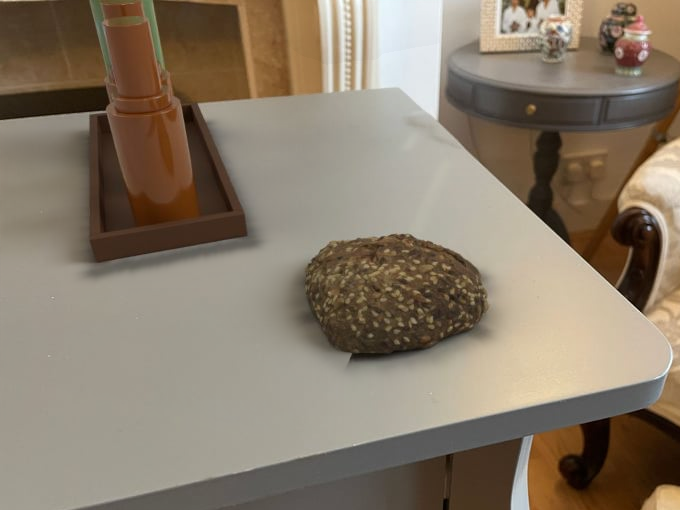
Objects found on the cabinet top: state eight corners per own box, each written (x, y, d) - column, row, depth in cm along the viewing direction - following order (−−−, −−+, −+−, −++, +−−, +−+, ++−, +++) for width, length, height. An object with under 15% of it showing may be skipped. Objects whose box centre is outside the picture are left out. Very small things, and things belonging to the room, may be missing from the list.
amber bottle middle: (118, 193, 60) (70, 5, 51) (150, 169, 64) (111, -7, 55) (171, 199, 58) (132, 8, 50) (200, 174, 63) (168, -5, 54)
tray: (248, 241, 53) (244, 213, 52) (98, 269, 50) (89, 239, 48) (200, 123, 76) (196, 101, 75) (95, 137, 73) (89, 114, 71)
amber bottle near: (122, 233, 53) (67, 27, 44) (157, 203, 58) (113, 11, 49) (181, 240, 52) (138, 31, 43) (212, 210, 57) (179, 14, 48)
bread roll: (316, 369, 40) (310, 303, 37) (300, 264, 50) (294, 206, 48) (514, 343, 42) (523, 279, 39) (460, 248, 52) (464, 191, 49)
